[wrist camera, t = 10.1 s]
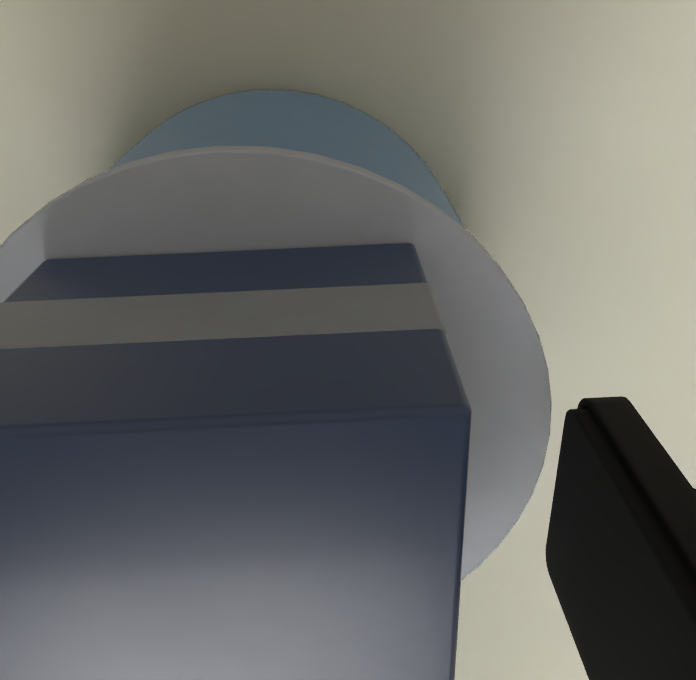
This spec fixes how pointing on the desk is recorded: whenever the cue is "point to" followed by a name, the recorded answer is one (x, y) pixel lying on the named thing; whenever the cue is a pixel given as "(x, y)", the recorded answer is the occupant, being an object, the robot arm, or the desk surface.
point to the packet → (230, 469)
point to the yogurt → (322, 231)
